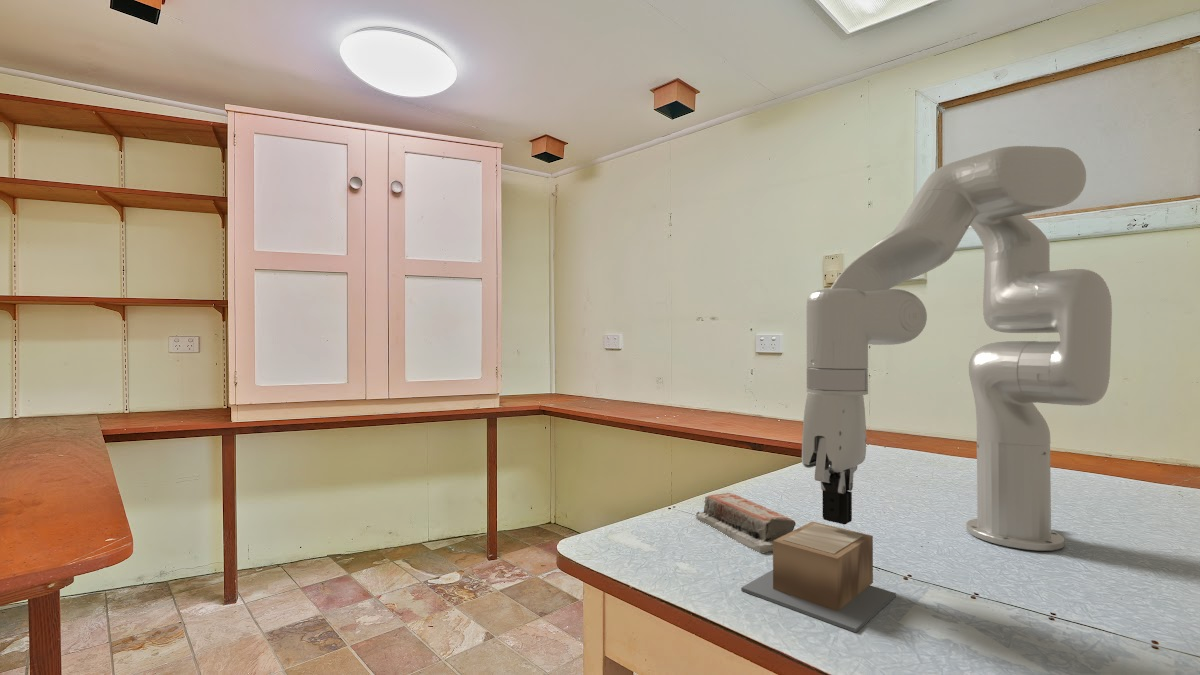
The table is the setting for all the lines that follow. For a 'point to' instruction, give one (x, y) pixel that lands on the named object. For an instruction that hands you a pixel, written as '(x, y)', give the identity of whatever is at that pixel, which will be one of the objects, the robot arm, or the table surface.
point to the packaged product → (745, 521)
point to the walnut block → (823, 564)
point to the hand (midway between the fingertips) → (837, 520)
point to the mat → (846, 617)
